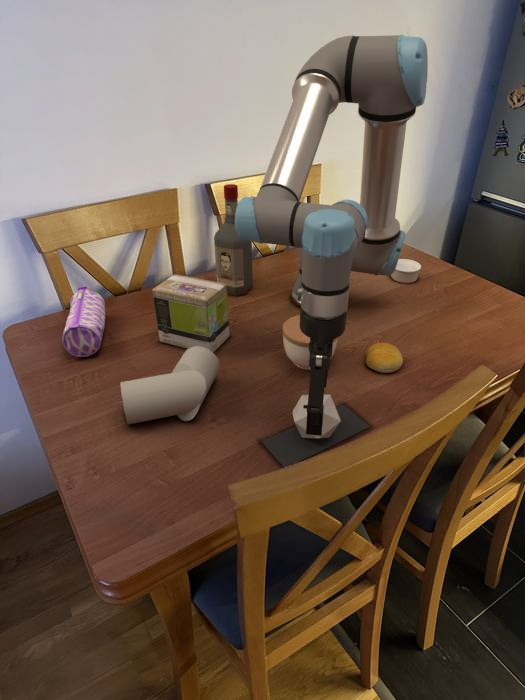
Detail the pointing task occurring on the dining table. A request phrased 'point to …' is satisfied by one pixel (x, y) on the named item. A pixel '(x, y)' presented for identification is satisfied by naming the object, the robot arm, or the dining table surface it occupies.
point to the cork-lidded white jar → (298, 343)
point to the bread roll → (384, 358)
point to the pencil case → (84, 323)
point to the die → (329, 417)
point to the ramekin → (406, 271)
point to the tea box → (192, 312)
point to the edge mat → (312, 439)
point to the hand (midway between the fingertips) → (316, 408)
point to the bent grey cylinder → (172, 389)
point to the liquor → (232, 250)
